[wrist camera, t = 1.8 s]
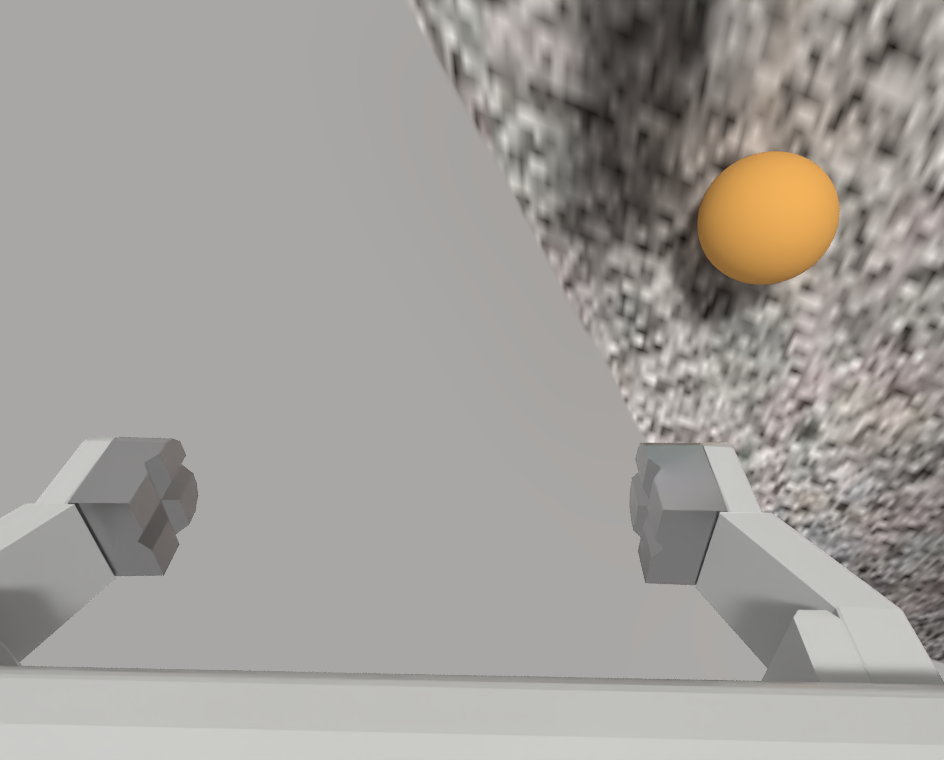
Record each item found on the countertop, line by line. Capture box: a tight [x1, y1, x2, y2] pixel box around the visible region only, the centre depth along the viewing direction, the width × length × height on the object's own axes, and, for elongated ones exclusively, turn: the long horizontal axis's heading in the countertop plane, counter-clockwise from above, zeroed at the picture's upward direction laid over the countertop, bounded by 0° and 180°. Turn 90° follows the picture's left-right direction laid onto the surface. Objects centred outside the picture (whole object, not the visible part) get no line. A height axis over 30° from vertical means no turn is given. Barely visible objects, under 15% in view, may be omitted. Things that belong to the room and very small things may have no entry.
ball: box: [697, 151, 839, 285], centre depth 30 cm, size 6×6×6 cm
